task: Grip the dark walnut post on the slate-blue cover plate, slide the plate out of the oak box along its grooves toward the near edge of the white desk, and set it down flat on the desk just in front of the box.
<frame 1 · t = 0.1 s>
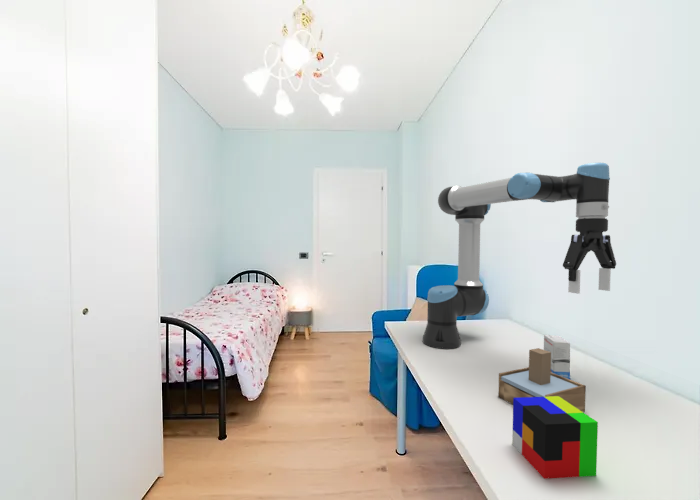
hand: (589, 291, 96), 28 cm above the table, fingers open, 13 cm apart
ink box: (555, 375, 105), on the table
oak box: (539, 403, 87), on the table
puzzle toy: (551, 460, 65), on the table
cover plate: (539, 385, 86), point 5 cm above the table, touching oak box
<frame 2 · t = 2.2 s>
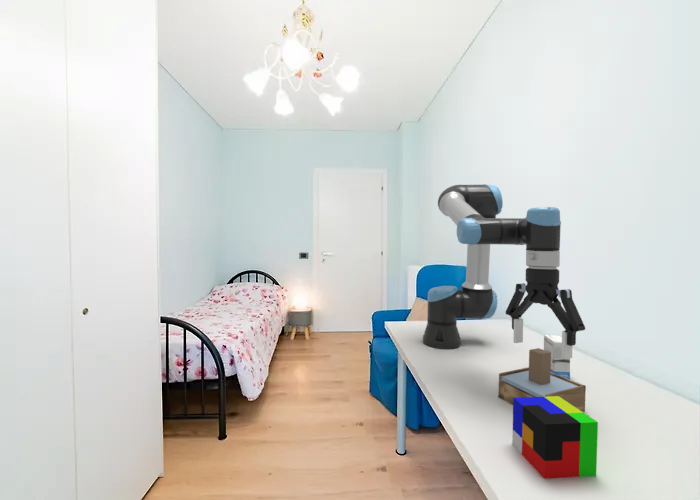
hand: (540, 349, 86), 14 cm above the table, fingers open, 13 cm apart
nothing on the table moved.
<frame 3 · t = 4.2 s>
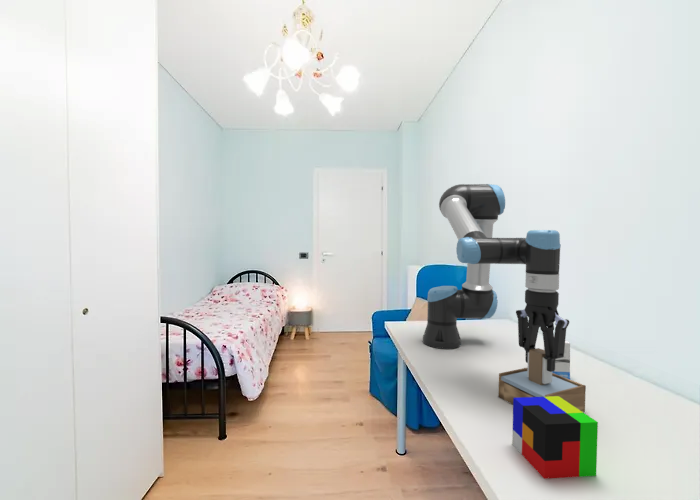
hand: (539, 379, 86), 7 cm above the table, fingers closed on cover plate, 3 cm apart
cover plate: (539, 385, 86), point 5 cm above the table, touching gripper, oak box
everything else where it was.
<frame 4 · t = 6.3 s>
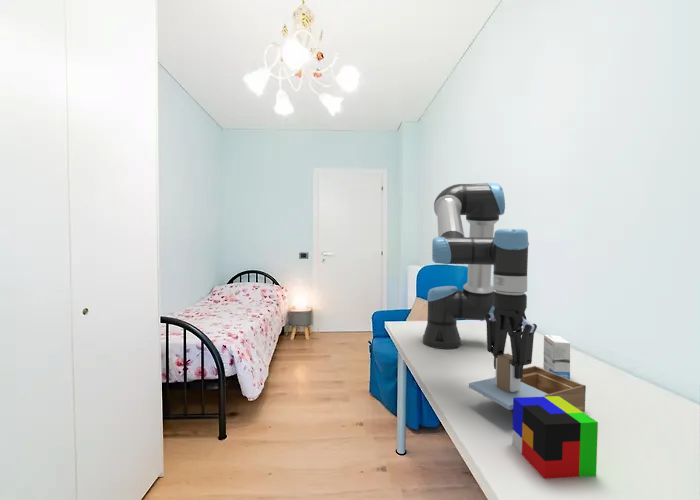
hand: (507, 386, 82), 7 cm above the table, fingers closed on cover plate, 3 cm apart
cover plate: (507, 392, 82), point 5 cm above the table, touching gripper
everything else where it was.
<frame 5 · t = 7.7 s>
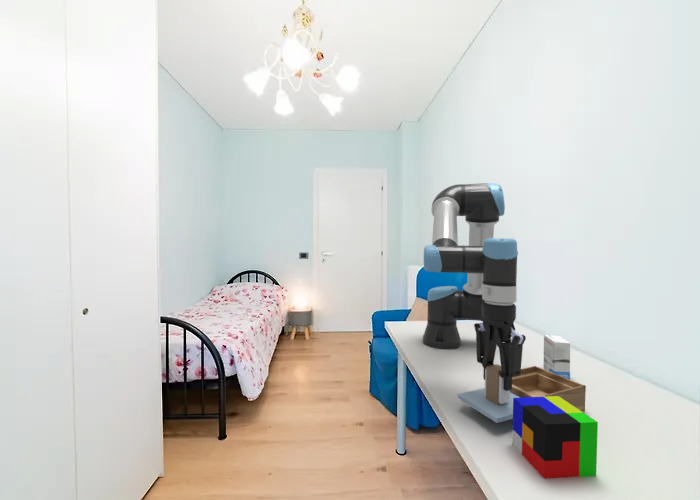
hand: (496, 398, 80), 4 cm above the table, fingers closed on cover plate, 3 cm apart
cover plate: (496, 404, 80), point 3 cm above the table, touching gripper
everything else where it was.
when the fingers open (3 cm above the table, at t = 8.6 s): cover plate drops 1 cm, on the table.
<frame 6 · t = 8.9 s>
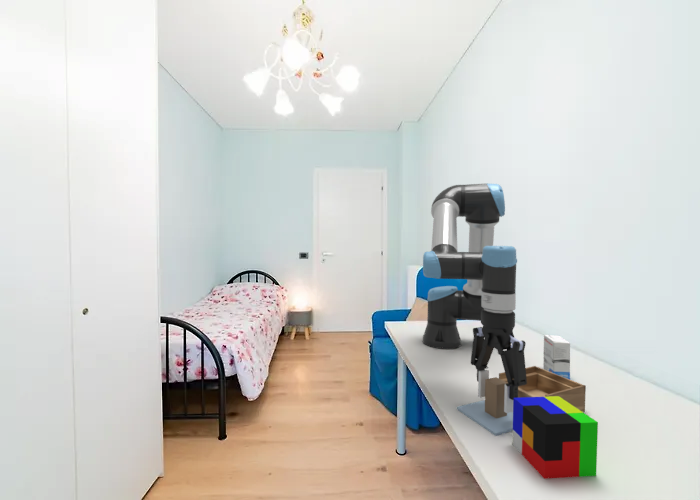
hand: (495, 403, 80), 3 cm above the table, fingers open, 7 cm apart
cover plate: (495, 417, 81), on the table
everything else where it was.
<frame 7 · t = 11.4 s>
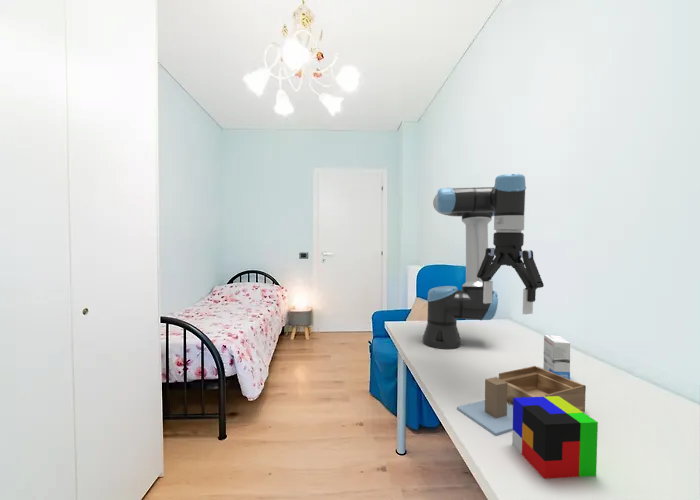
hand: (506, 308, 92), 24 cm above the table, fingers open, 13 cm apart
nothing on the table moved.
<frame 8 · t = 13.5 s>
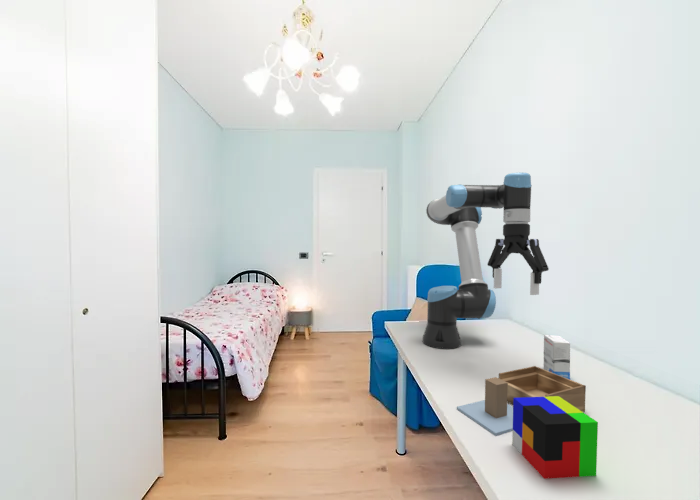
hand: (514, 291, 104), 27 cm above the table, fingers open, 13 cm apart
nothing on the table moved.
at the end: cover plate inside the target area (0.4 cm from its centre), on the table; cover plate tilted 0°; the gripper is holding nothing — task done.
